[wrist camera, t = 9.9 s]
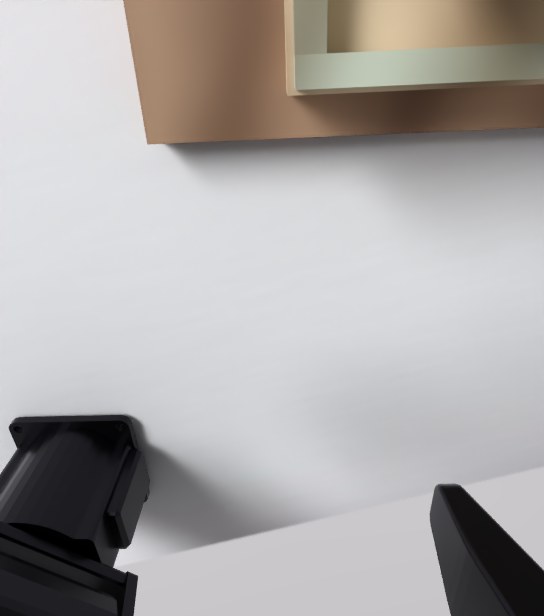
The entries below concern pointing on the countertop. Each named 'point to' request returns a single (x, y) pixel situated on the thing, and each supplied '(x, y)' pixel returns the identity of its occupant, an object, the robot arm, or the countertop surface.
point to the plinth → (335, 67)
